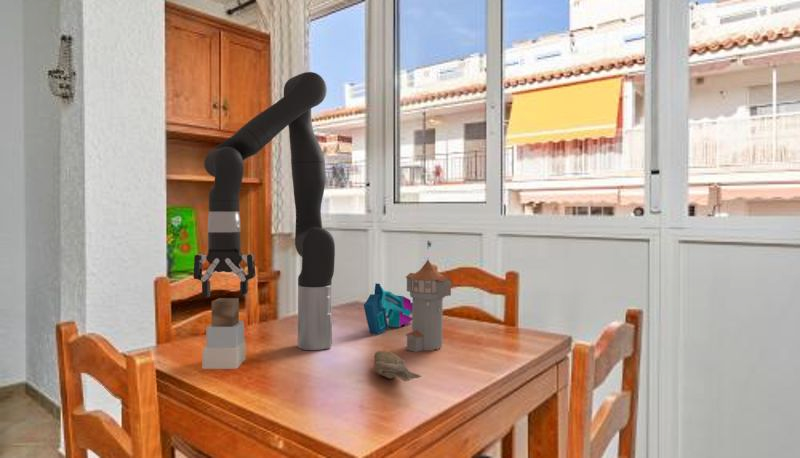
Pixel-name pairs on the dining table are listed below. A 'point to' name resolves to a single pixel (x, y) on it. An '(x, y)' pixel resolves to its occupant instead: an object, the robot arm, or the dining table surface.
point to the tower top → (225, 336)
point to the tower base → (223, 357)
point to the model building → (427, 307)
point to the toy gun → (386, 310)
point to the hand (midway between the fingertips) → (225, 296)
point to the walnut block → (225, 312)
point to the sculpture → (392, 366)
